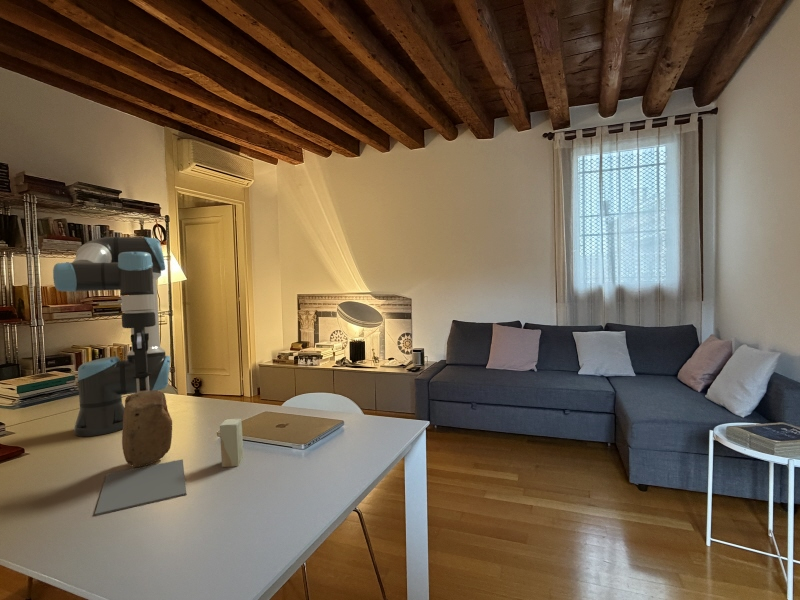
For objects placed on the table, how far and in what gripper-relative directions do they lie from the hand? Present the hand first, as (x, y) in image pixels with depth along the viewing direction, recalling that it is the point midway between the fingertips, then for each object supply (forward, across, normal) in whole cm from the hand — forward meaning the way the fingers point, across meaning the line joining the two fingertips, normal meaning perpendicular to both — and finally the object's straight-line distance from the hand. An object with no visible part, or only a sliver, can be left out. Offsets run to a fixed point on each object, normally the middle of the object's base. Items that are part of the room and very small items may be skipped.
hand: (143, 402), depth 115 cm
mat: (+17, +12, 0) cm, 21 cm away
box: (+17, +10, +20) cm, 28 cm away
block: (+15, -3, 0) cm, 16 cm away
